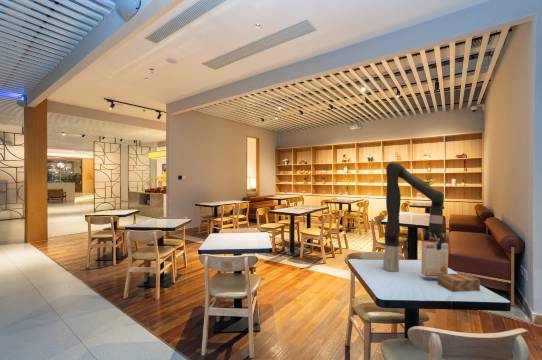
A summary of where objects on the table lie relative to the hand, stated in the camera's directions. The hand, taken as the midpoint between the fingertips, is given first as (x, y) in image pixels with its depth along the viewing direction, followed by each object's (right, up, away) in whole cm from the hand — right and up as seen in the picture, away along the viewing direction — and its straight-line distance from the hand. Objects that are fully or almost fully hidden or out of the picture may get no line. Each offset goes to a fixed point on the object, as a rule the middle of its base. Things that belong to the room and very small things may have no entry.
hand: (434, 248), depth 174 cm
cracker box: (-1, -17, 0) cm, 17 cm away
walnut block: (+7, -20, -12) cm, 24 cm away
